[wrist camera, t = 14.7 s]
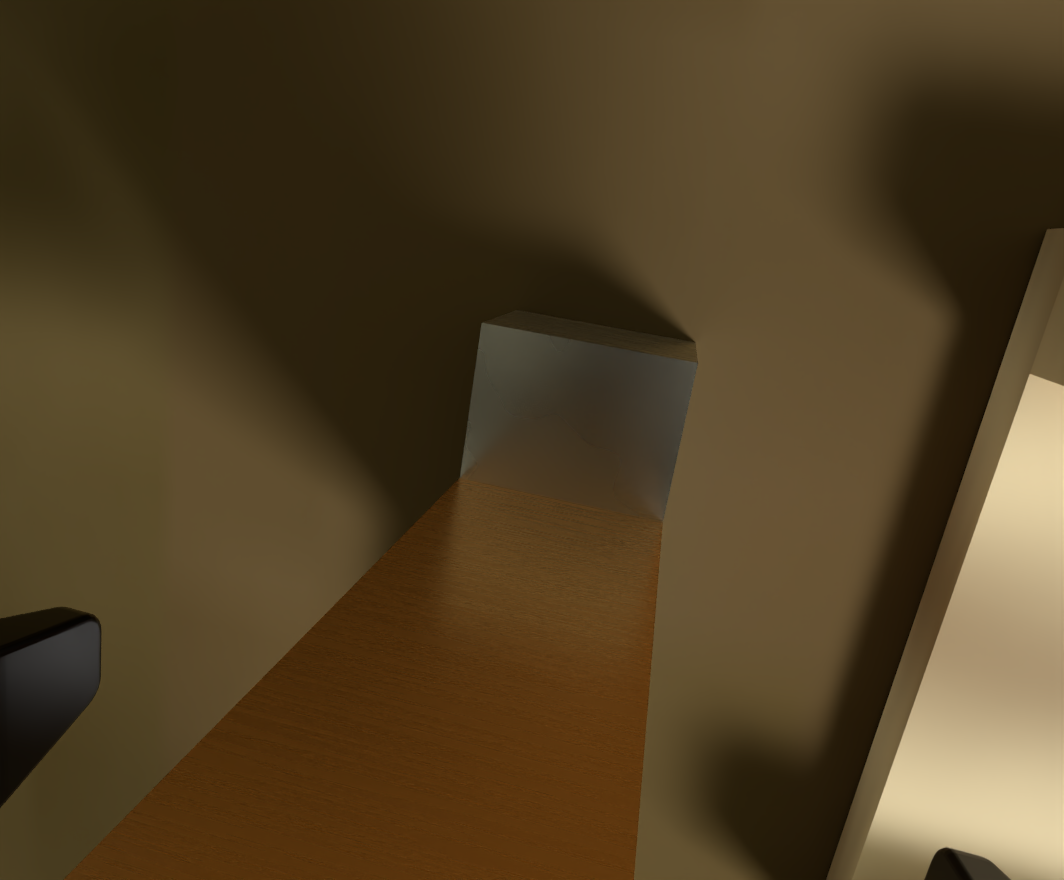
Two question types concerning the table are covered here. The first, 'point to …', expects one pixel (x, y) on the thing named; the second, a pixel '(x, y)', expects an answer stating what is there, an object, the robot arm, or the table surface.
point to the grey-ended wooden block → (463, 655)
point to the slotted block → (984, 643)
